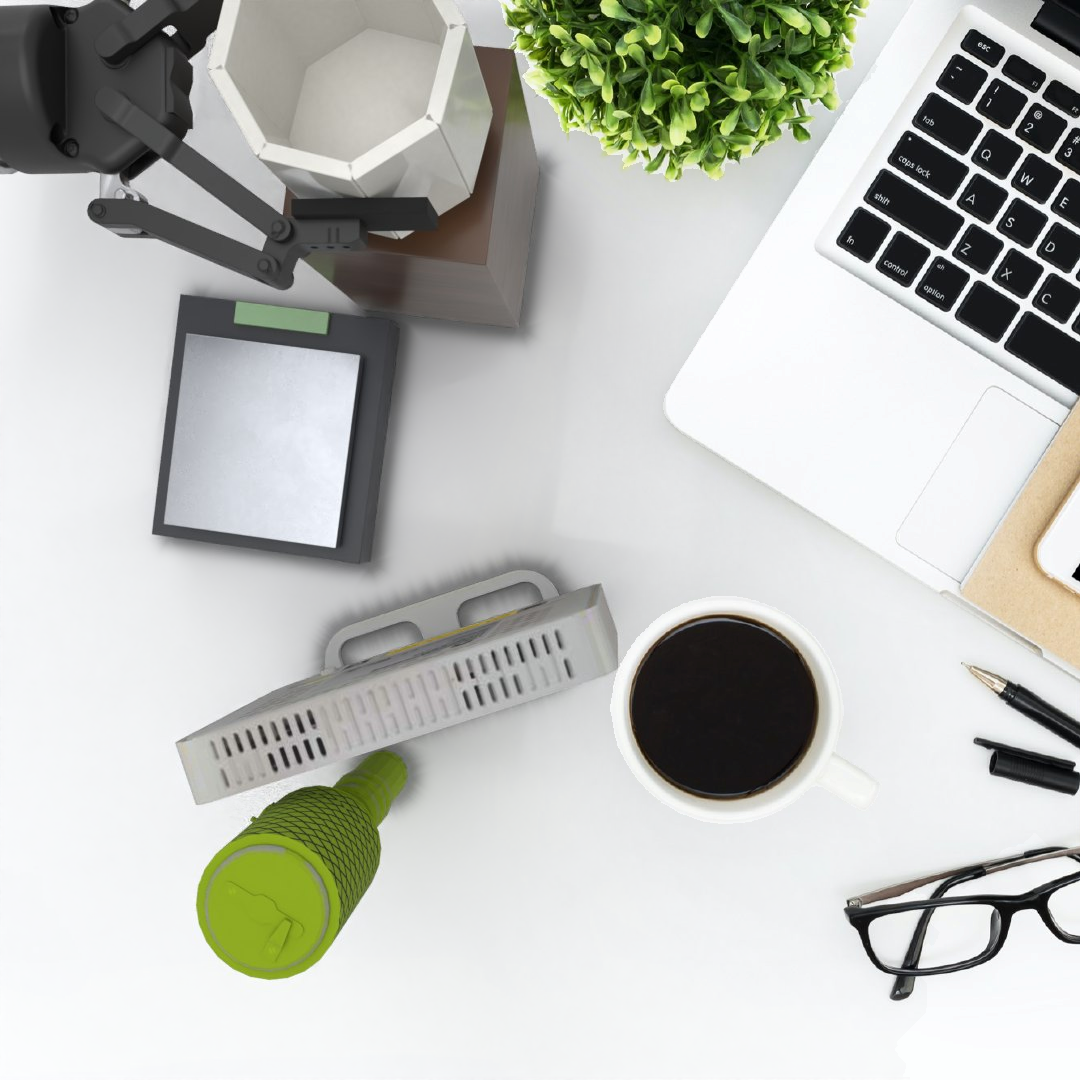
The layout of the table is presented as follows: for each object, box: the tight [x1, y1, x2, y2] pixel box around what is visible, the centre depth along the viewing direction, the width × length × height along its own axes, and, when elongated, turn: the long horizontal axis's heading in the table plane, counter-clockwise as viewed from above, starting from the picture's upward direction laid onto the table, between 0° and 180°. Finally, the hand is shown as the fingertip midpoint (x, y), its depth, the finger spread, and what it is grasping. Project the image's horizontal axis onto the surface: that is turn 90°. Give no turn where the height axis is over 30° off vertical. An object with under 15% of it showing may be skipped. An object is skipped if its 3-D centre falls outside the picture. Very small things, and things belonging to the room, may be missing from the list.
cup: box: [207, 0, 493, 239], centre depth 46 cm, size 11×11×9 cm
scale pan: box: [164, 333, 364, 548], centre depth 68 cm, size 14×13×1 cm
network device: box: [174, 569, 619, 806], centre depth 61 cm, size 26×9×20 cm, turn 109°
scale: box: [151, 293, 401, 565], centre depth 70 cm, size 18×16×3 cm
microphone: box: [195, 750, 408, 981], centre depth 59 cm, size 8×8×25 cm
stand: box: [282, 44, 541, 329], centre depth 61 cm, size 12×12×18 cm
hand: (434, 82), depth 45 cm, fingers closed on cup, 12 cm apart
